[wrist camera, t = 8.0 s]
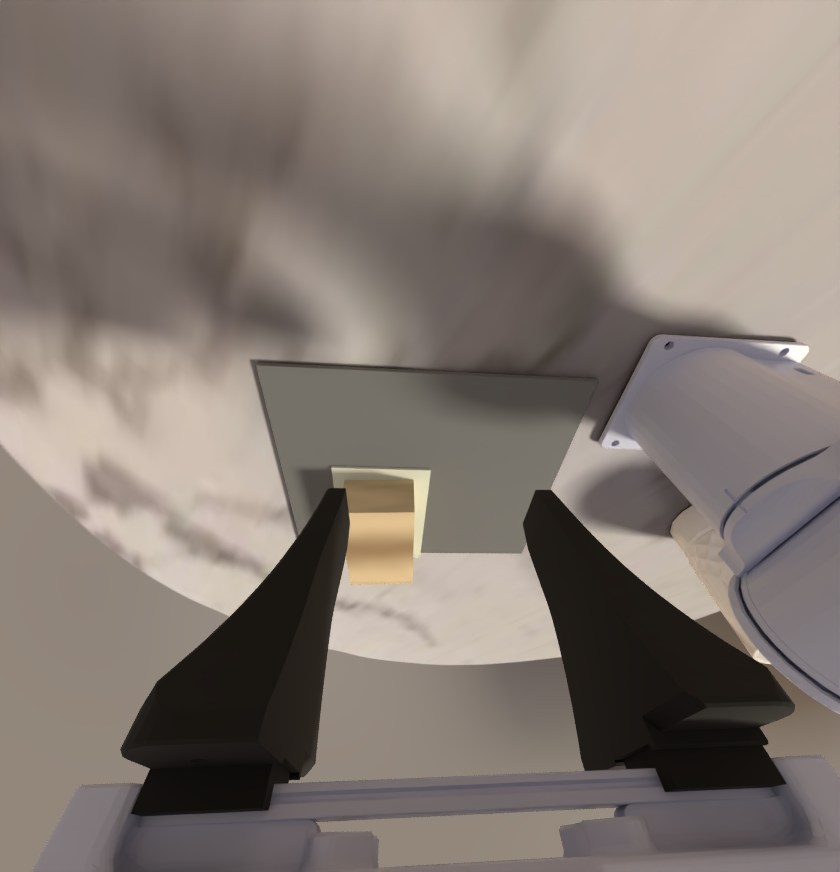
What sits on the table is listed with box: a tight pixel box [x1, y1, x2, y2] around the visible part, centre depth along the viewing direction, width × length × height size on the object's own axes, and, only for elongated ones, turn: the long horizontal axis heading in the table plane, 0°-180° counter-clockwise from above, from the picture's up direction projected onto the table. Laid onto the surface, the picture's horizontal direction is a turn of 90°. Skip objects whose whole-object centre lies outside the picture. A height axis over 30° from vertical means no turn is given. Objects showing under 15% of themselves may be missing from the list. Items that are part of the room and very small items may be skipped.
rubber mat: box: [256, 362, 598, 558], centre depth 25 cm, size 20×18×1 cm
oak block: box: [343, 480, 415, 585], centre depth 26 cm, size 9×5×3 cm, turn 178°
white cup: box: [670, 505, 771, 664], centre depth 25 cm, size 8×8×10 cm
